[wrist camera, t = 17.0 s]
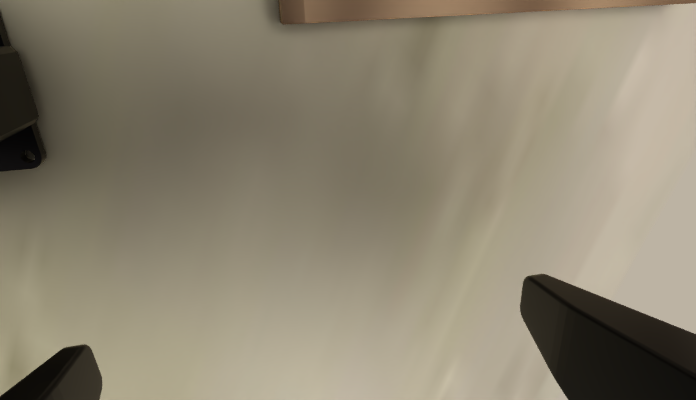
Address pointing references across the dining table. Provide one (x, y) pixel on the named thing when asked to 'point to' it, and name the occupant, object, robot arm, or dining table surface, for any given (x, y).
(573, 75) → the dining table surface
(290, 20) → the walnut tray
